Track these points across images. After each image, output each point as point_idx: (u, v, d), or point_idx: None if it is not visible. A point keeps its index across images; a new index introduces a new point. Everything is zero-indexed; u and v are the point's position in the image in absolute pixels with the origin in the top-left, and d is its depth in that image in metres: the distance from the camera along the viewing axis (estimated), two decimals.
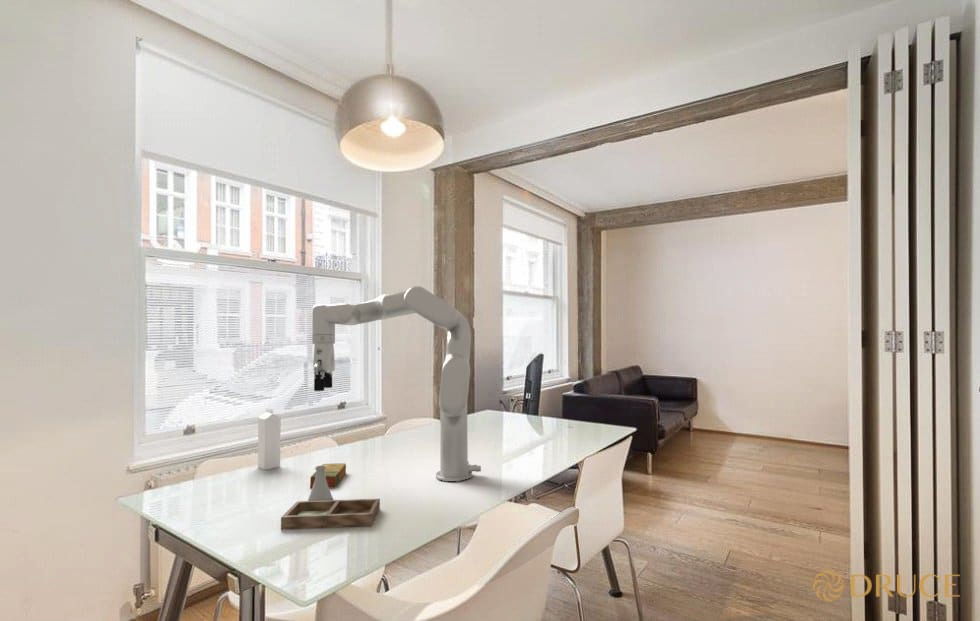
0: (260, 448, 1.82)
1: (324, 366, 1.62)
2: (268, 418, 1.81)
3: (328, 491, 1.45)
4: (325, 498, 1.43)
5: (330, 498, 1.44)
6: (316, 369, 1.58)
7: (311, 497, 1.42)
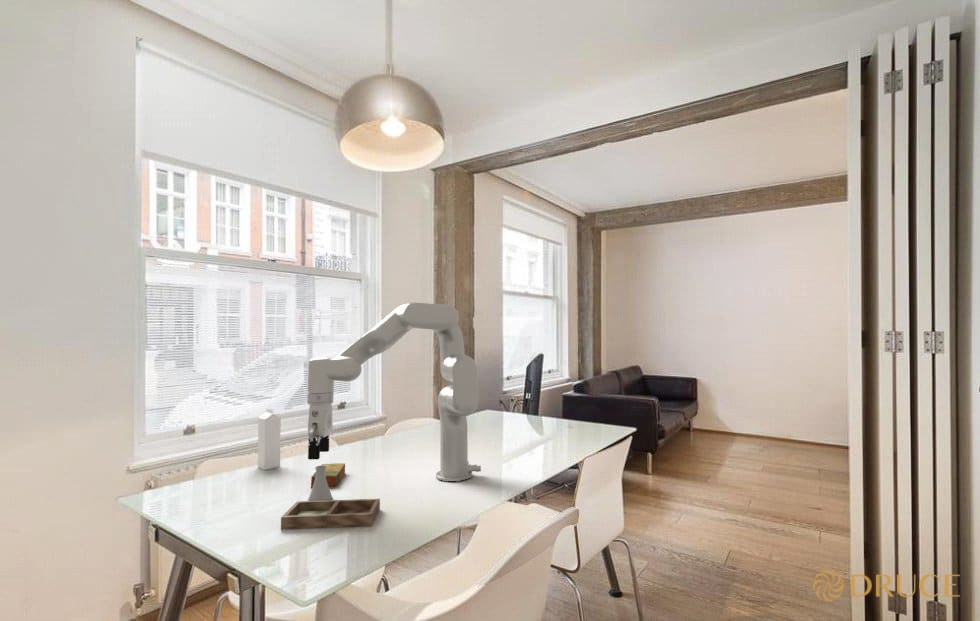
0: (260, 448, 1.82)
1: (320, 431, 1.41)
2: (268, 418, 1.81)
3: (328, 491, 1.45)
4: (325, 498, 1.43)
5: (330, 498, 1.44)
6: (311, 436, 1.37)
7: (311, 497, 1.42)
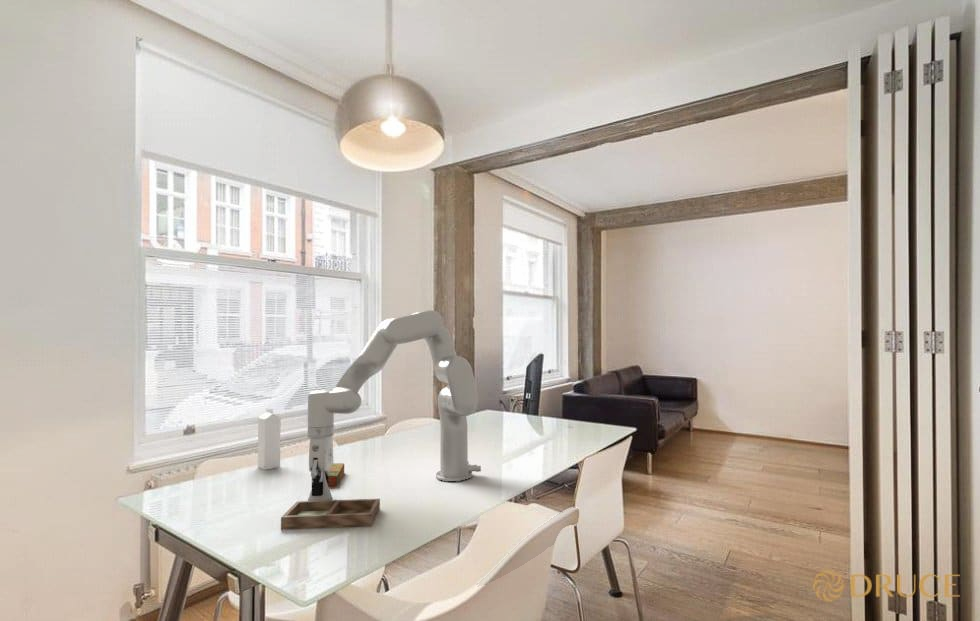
0: (260, 448, 1.82)
1: (321, 465, 1.41)
2: (268, 418, 1.81)
3: (328, 491, 1.45)
4: (325, 498, 1.43)
5: (330, 498, 1.44)
6: (313, 476, 1.39)
7: (311, 497, 1.42)
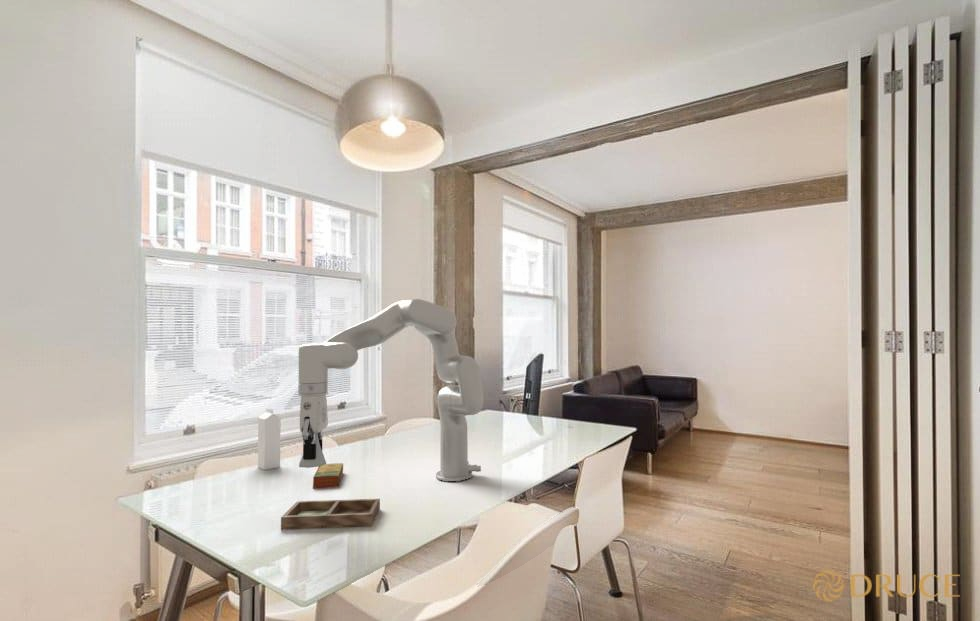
0: (260, 448, 1.82)
1: (313, 425, 1.26)
2: (268, 418, 1.81)
3: (321, 455, 1.30)
4: (318, 462, 1.28)
5: (323, 462, 1.29)
6: (305, 436, 1.24)
7: (302, 461, 1.27)
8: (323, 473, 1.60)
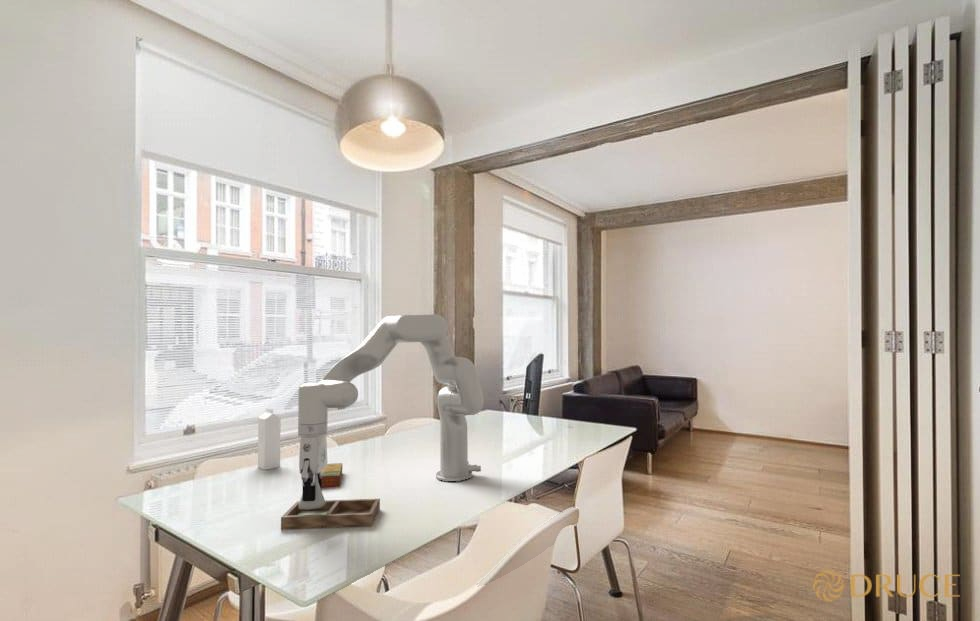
0: (260, 448, 1.82)
1: (313, 467, 1.25)
2: (268, 418, 1.81)
3: (321, 496, 1.29)
4: (317, 503, 1.27)
5: (323, 503, 1.29)
6: (304, 479, 1.23)
7: (301, 502, 1.27)
8: (323, 473, 1.60)
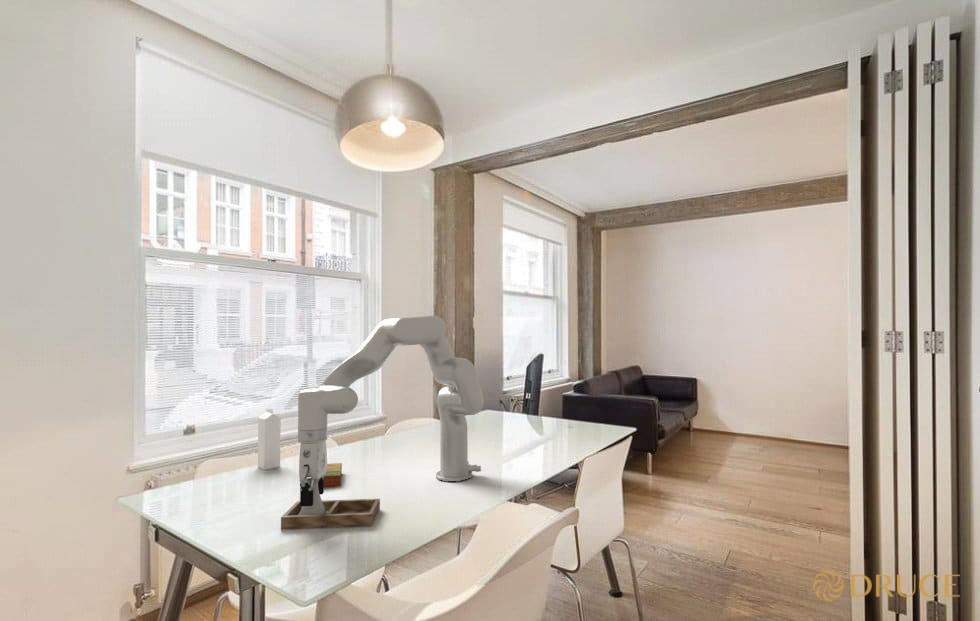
0: (260, 448, 1.82)
1: (313, 473, 1.25)
2: (268, 418, 1.81)
3: (321, 506, 1.29)
4: (318, 514, 1.27)
5: None
6: (302, 481, 1.22)
7: (302, 513, 1.27)
8: None
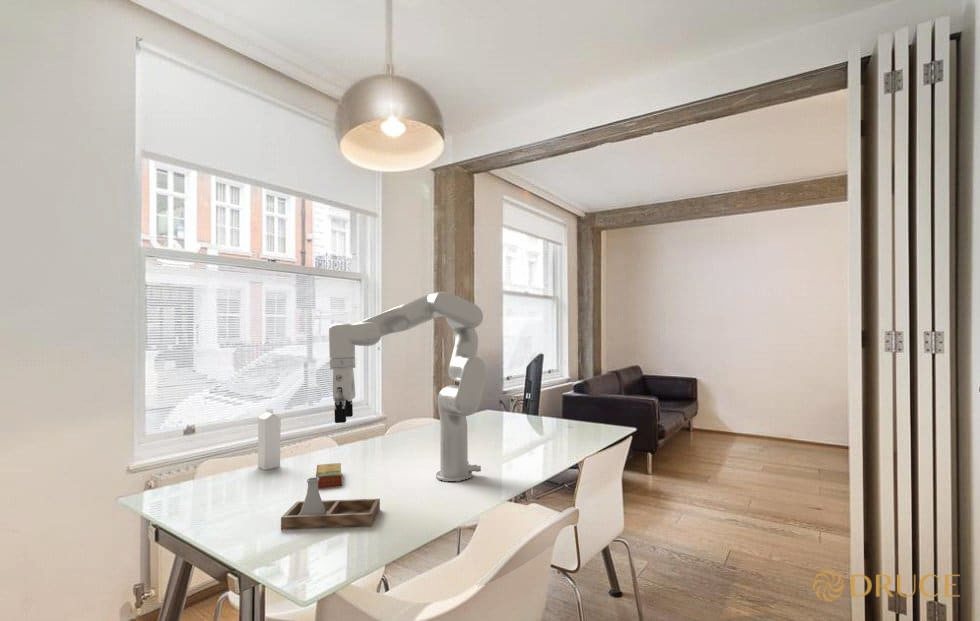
0: (260, 448, 1.82)
1: (345, 394, 1.42)
2: (268, 418, 1.81)
3: (321, 506, 1.29)
4: (318, 514, 1.27)
5: None
6: (337, 399, 1.39)
7: (302, 513, 1.27)
8: (324, 473, 1.60)
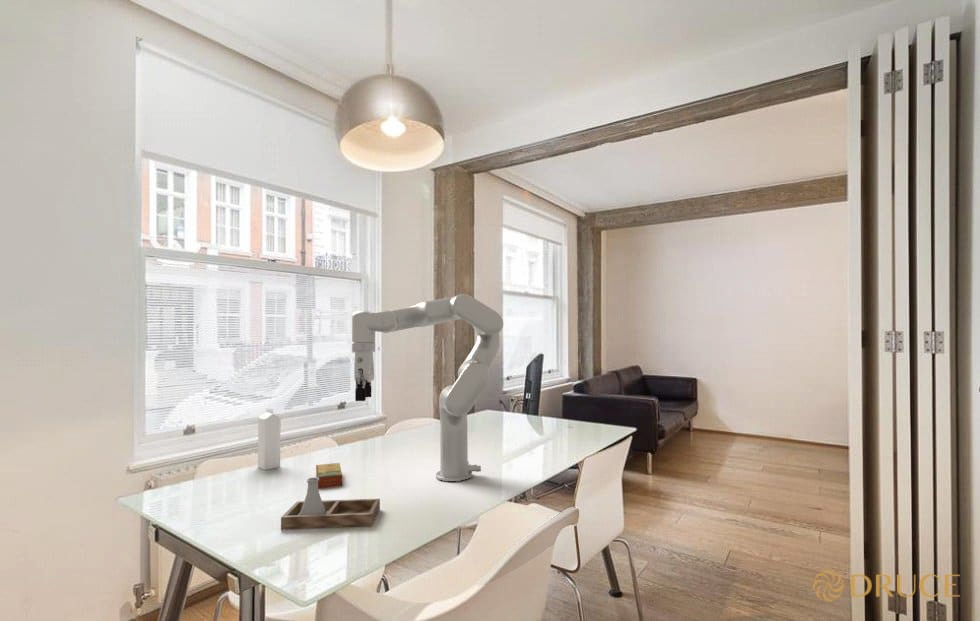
0: (260, 448, 1.82)
1: (365, 375, 1.56)
2: (268, 418, 1.81)
3: (321, 506, 1.29)
4: (318, 514, 1.27)
5: None
6: (358, 379, 1.53)
7: (302, 513, 1.27)
8: (325, 473, 1.60)
